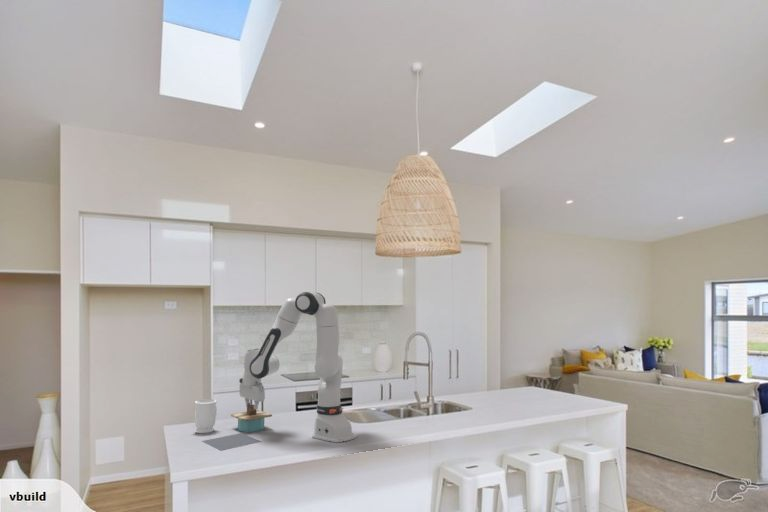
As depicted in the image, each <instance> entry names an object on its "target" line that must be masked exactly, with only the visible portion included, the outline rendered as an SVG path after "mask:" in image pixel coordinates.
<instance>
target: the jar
mask: <svg viewBox="0 0 768 512" xmlns="http://www.w3.org/2000/svg"><path fill="white" fill-rule="evenodd" d="M217 403H218V401H217V399H213V398H212V399H211V398H209V399H208V398H207V399H199V400H195V401H194V405H195V408H194V423H195V428H196V431H195V433H197V434H207V433H211V432H214V430H215V429H214V426H215V425H216V424H215V423H216V418H217V414H218V413H217V405H216V404H217Z"/></svg>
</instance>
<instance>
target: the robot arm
mask: <svg viewBox="0 0 768 512" xmlns="http://www.w3.org/2000/svg"><path fill="white" fill-rule="evenodd" d="M303 314H306V315H310V316H314V317H315V322H316V328H315V329H316V351H315V364H314V372H315V373H316V375H317V376H318V377H319V382H318V387H317V405H316V414H317V415H316V417H315V420H314V430H313V434H312V435H311V436H312V439H316V440H321V441H325V442H326V441H327V442H330V441H331V443H343V441H344V442H347V441H351V440H354V439H356V438H357V437H358V435H357V434H356V433H354V432H352V431H353V430H352V424H351V422H350V421H349V420H348V419H347V418H346V416H345V415H344V413H343V410H344V407H342V404H341V384H342V376H343V365H344V361H343V358H342V357H341V355H340V354H339V346H340V345H339V343H340V332H339V331H340V328H339V319H338V313H337V309H336V307H335V306H334V305H333V304H330V303H326V298H325V297H324V295H322V294H321V293H319V292H314V291H305V292H301V293H299V294H297V296H296V298H295V297H288V298H286V299H285V300H284V302H283V304H282V306H281V307H280V309H279V310H278V313H277V316H276V318H275V321H274V322H273V325H272V327H271V329H269V332H268V334H267V335H266V337H265V339H264V342H263V343H262V346H261V347H260V348H253V349H248V350H246V351H245V353H244V357H243V358H244V360H243V368H244V372H243V377H241V378H238V379H239V380H238V382H239V395H240V397H242V398H244V402H245V407H246V408H247V405H251V403H250V401H251V400H252V401H253V402H254V404H253V405H254V406H253V409H256V410H259V409H258V408H259V407H258V406H259V404H260V402H264V401H265V399H266V398H265V397H266V394H265V393H266V392H265V386H264V385H263V384H262V379H263V378H265V377H267V376H270V375H273V374H275V373H277V371H279V368H280V361H279V359H278V357H276V356H275V355H273V354H274V351H275V349H276V348H277V346H278V345H279V343H281V342H282V341H283V340H284V339H286V338H288V337H289V336H291V335H292V334H293V332H294V331H295V329H296V327H297V325H298V322H299V320H300V318H301V316H302V315H303Z"/></svg>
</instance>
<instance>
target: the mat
mask: <svg viewBox="0 0 768 512" xmlns="http://www.w3.org/2000/svg"><path fill="white" fill-rule="evenodd" d="M201 442H202V443H204V444H206V445H208V446H210V447H212V448H213V449H217V450H218V451H221V452H222V451H225V450H226V451H227V450H231V449H235V448H239V447H240V448H241V447H244V446H249V445H253V444H258V443H262V442H263V441H261V440H259V439H257V438H254V437H251V436H249V435H247V434H245V433H243V432H240V433H236V434H235V433H233V434H231V435H230V434H229V435H226V436H220V437H219V436H218V437H215V438H209V439H205V440H201Z"/></svg>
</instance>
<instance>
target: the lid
mask: <svg viewBox="0 0 768 512" xmlns="http://www.w3.org/2000/svg"><path fill="white" fill-rule="evenodd" d="M253 406H254V404H250V405H247V407H246V411H244V412H243V411H242V412H238V413H232V414H230V416H231V417H233V418H235V419H237V420H238V419H240V420H243V421H249V420H255V419H260V418H264V419H265V418H270V417H273V414H271V413H268V412H265V411H263V410H259V409H253Z"/></svg>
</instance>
